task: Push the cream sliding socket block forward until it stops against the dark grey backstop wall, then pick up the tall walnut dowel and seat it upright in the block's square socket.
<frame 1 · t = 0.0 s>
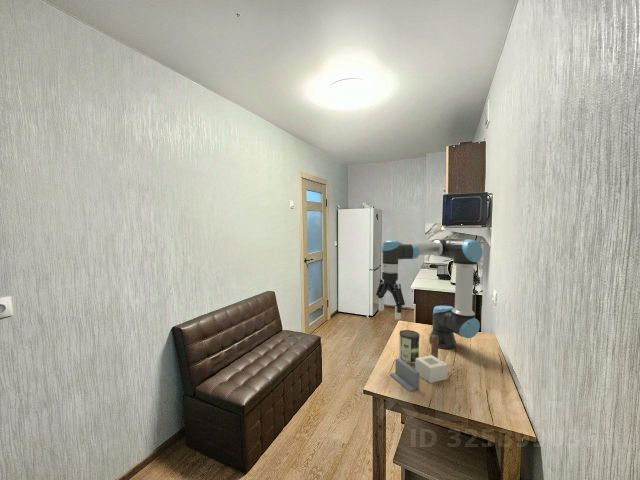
hand: (389, 314, 133), 28 cm above the table, tool pointing down, fingers open, 13 cm apart
block: (430, 368, 130), point 4 cm above the table, slide at 0.0 cm
wall: (406, 381, 125), on the table
coffee can: (408, 359, 146), on the table
dowel: (434, 366, 138), on the table
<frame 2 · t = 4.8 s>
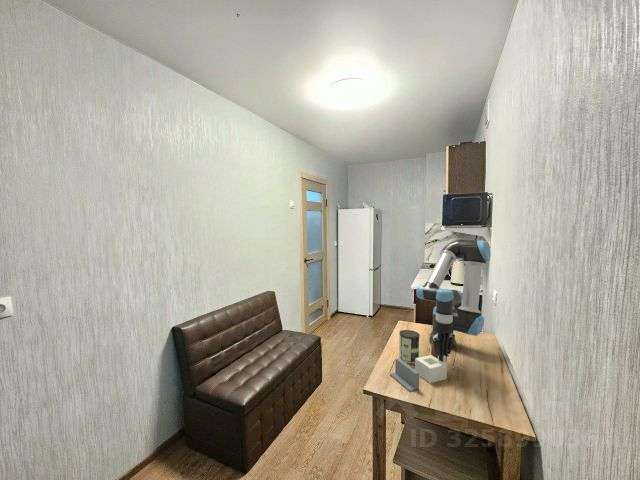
hand: (442, 368, 132), 2 cm above the table, tool pointing down, fingers closed
block: (430, 368, 130), point 3 cm above the table, slide at 0.2 cm, touching gripper
everything else where it was.
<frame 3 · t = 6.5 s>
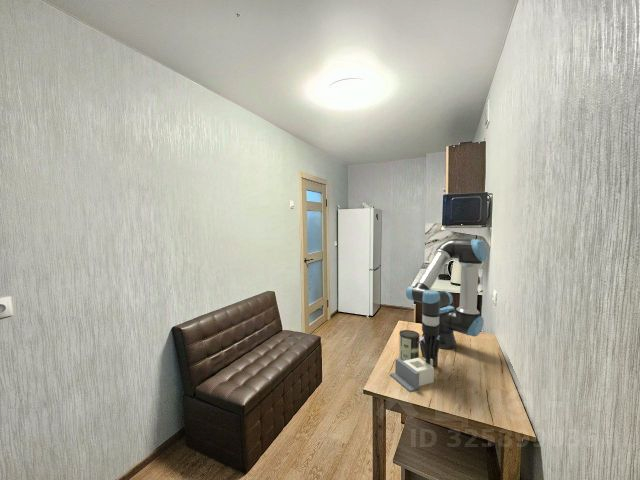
hand: (429, 371, 129), 2 cm above the table, tool pointing down, fingers closed
block: (417, 371, 127), point 4 cm above the table, slide at 8.2 cm, touching gripper
everything else where it was.
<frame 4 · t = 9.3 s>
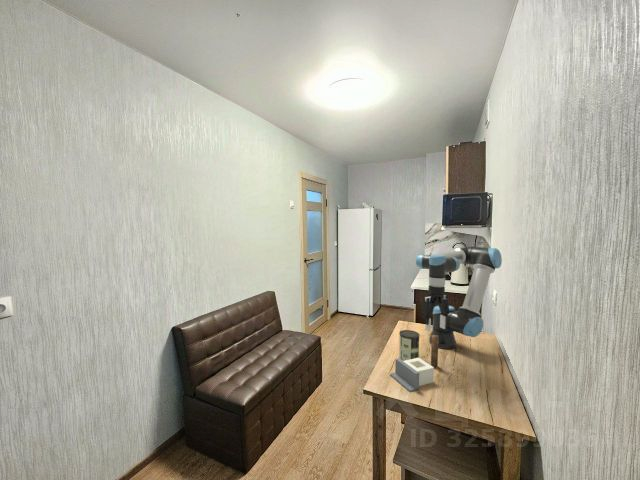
hand: (435, 329, 137), 19 cm above the table, tool pointing down, fingers open, 9 cm apart
block: (417, 371, 127), point 4 cm above the table, slide at 8.0 cm
everything else where it was.
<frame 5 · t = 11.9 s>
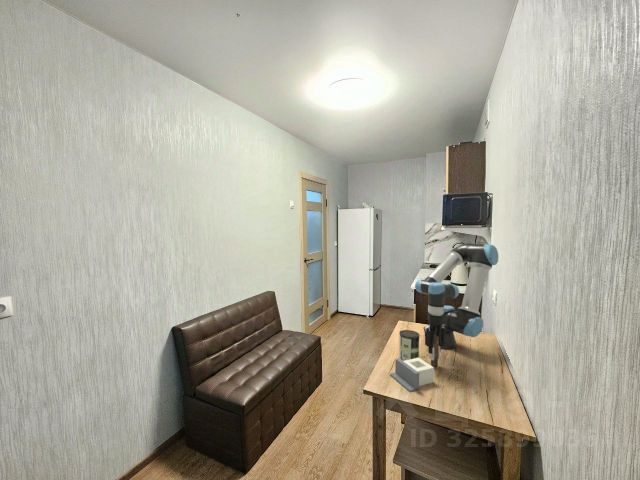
hand: (434, 358, 138), 4 cm above the table, tool pointing down, fingers closed on dowel, 3 cm apart
dowel: (434, 366, 138), on the table, touching gripper
everything else where it was.
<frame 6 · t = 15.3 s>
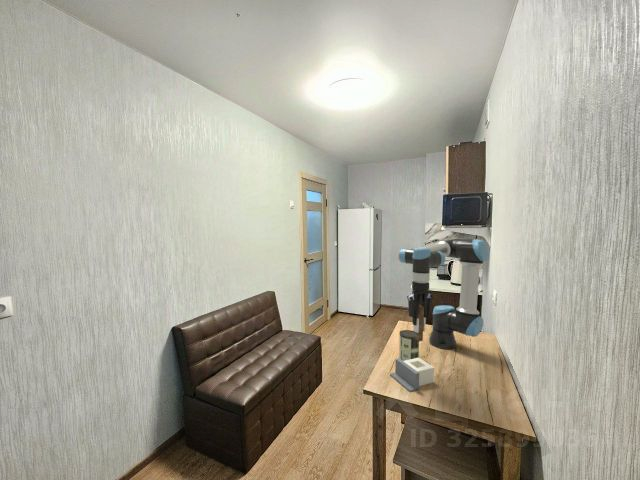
hand: (419, 331, 126), 23 cm above the table, tool pointing down, fingers closed on dowel, 3 cm apart
dowel: (419, 339, 126), point 19 cm above the table, touching gripper
everything else where it was.
when the fingers open (8 cm above the table, at t = 18.7 s): dowel drops 2 cm, resting on block.
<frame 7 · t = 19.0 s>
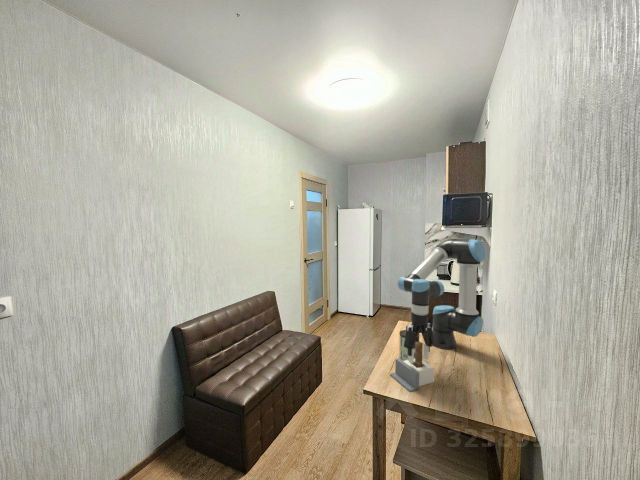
hand: (418, 360, 127), 9 cm above the table, tool pointing down, fingers open, 8 cm apart
block: (417, 371, 127), point 3 cm above the table, slide at 8.0 cm, touching dowel
dowel: (418, 376, 127), point 1 cm above the table, touching block
everything else where it was.
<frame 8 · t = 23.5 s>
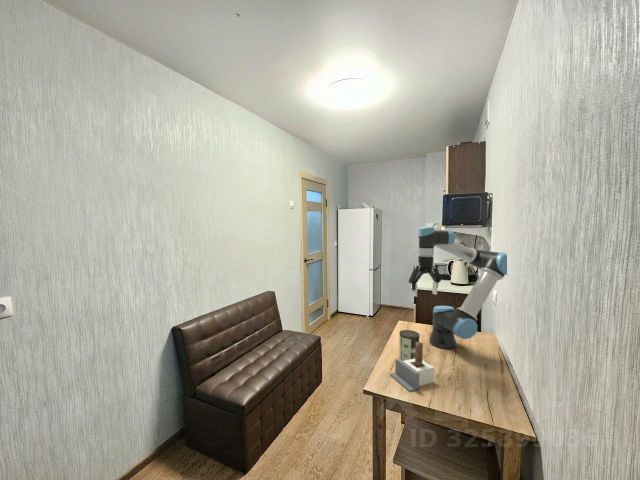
hand: (424, 295, 145), 35 cm above the table, tool pointing down, fingers open, 13 cm apart
nothing on the table moved.
at the end: block slide at 8.0 cm; dowel 0.5 cm off-centre on the block, point 1.0 cm above the block's base; dowel tilted 1° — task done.
